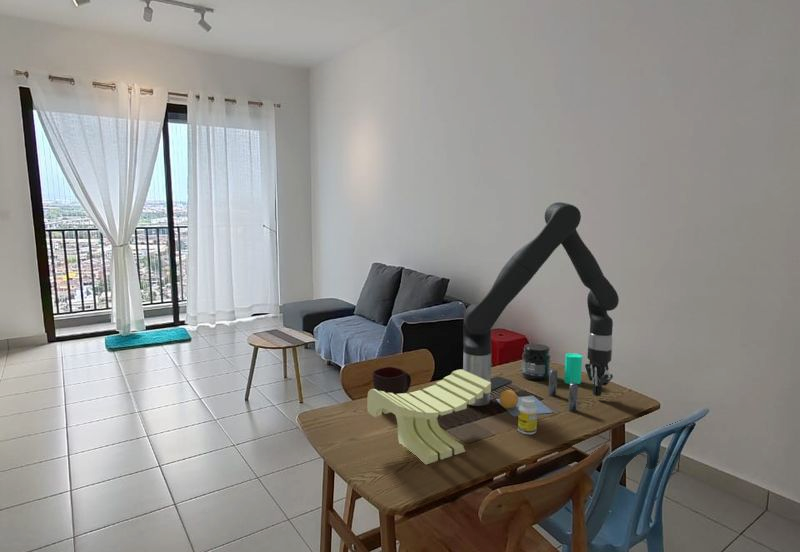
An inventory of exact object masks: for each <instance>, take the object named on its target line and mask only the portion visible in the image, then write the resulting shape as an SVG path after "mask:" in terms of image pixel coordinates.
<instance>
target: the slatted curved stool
mask: <svg viewBox="0 0 800 552" xmlns="http://www.w3.org/2000/svg"><path fill="white" fill-rule="evenodd" d="M491 392H492V391H491V382H489V381H487V380H484V379H482V378H480V377H478V376H475V375H473V374H471V373H469V372H467V371H464V370H463V368H461V369H456V370H453V371H452V372H451V373H450V374H449V375H447V376H445V377H443V378H442V380H438V381H436V382H435V384H433V385H431V386H427V387H425V388H422V390H421V389H419V390H416V391H411V392H407V393H402V394H396V395H395V394H393V393H386V392H384V391H378V390H376V389H374V388H370V389H369V390H368V392H367V398H366V399H367V400H366V403H367V413H368V414H370V415H371V416H372V417H374V418H378V417H379V416H381V415H383V414H384V415H385V414H390V413H392V414H393V415H395V418H396V419H395V420H396V423H397V439H398V443H399V445H400V444H402V445H403V446H404V447H406V448H407V449H408V450H409V451H410V452H412V453H413V454H414V455H416V456H417V457H418V458H419V459H420V462H422V463H423V464H424V465H428V464H432V463H435V462H437V461H439V460H440V461H441V460H444V459H446V458H450V457H453V455H458V454H461V453H466V450H465V447H464V445H463V444H461V443H460V442H458V441H457V440H456V439H454V438H452V437H451V436H450V435H449V434H447V433H446V432H445V431H444V429H442V428H441V426H440V424H439V422H438V417H439V416H445V415H449V414H452V413H453V411H454V412H459V411H463V410H466V409H467V407H468V405H467V403H468V404H473V403H475V398H477V399H479V398H483V393H485V394H486V393H490V394H491ZM467 410H468V409H467ZM403 446H402V447H403ZM404 447H403V448H404ZM407 449H406V450H407ZM408 450H407V451H408ZM409 451H408V452H409ZM410 452H409V453H410ZM412 453H411V454H412ZM413 454H412V455H413ZM414 455H413V456H414ZM416 456H415V457H416ZM417 457H416V458H417ZM418 458H417V459H418ZM419 459H418V460H419Z"/></svg>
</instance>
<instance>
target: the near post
mask: <svg viewBox="0 0 800 552" xmlns="http://www.w3.org/2000/svg"><path fill="white" fill-rule="evenodd" d="M568 391H569V392H568V407H567V408H568V411H569V412H570V413H577V411H578V397H579V396H578V395H579V385H578V384H577V383H574V382H572V383H570V384H569V390H568Z"/></svg>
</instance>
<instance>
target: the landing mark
mask: <svg viewBox="0 0 800 552" xmlns="http://www.w3.org/2000/svg"><path fill="white" fill-rule="evenodd" d="M523 397H532V398H534V399H535V406H536V407H537V415H544V414H546V415H547V414H554V411H553V410H551V408H549V407H548V406H547V405H545V404H544V403H543V402H542V401H540V400H539V399H538V398H537V397H535V396H534V395H525V396H518V404H517V405H516V406H515V407H514V408H512V409H507V408H504V409H505V411H507V412H508V413H509V414H510V416H511V417H518V410H519V406H520V405H521V398H523ZM495 400H496V402H497V403H499V405H501V403H500V400H499V398H495Z"/></svg>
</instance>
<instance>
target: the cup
mask: <svg viewBox="0 0 800 552" xmlns="http://www.w3.org/2000/svg"><path fill="white" fill-rule="evenodd" d="M372 383H373V389H376V390H378V391H384V392H386V393H393V394H395V395H396V394H402V393H407V394H408V391H409V389H410V387H411V383H412V378H411V375H410V374H409V373H408V372H406V370H403V369H402V368H398V367H394V366H386V367H382V368H377V369H375V370H374V371H372Z"/></svg>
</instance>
